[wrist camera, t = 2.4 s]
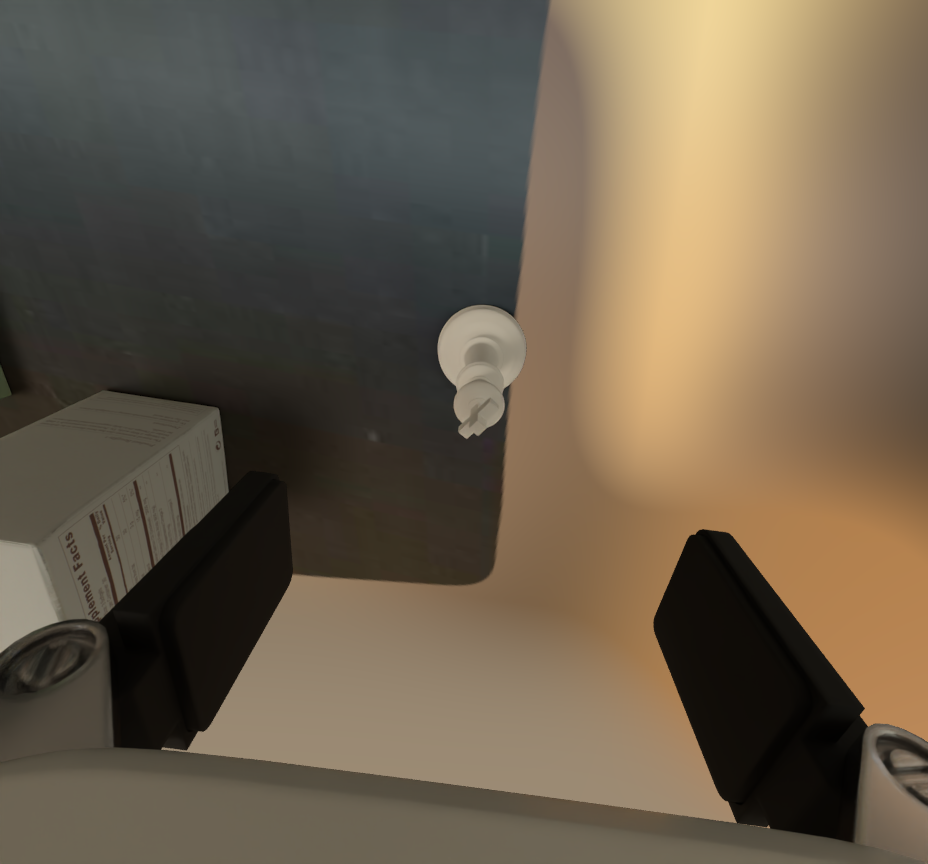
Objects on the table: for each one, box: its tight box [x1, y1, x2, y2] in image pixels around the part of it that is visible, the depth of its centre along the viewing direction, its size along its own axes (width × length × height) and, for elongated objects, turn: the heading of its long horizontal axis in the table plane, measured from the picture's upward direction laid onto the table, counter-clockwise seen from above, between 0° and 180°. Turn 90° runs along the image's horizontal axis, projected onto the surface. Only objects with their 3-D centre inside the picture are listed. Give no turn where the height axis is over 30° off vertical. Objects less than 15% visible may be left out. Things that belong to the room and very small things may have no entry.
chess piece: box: [438, 305, 526, 439], centre depth 20 cm, size 5×5×10 cm
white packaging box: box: [0, 390, 229, 653], centre depth 23 cm, size 7×7×13 cm
